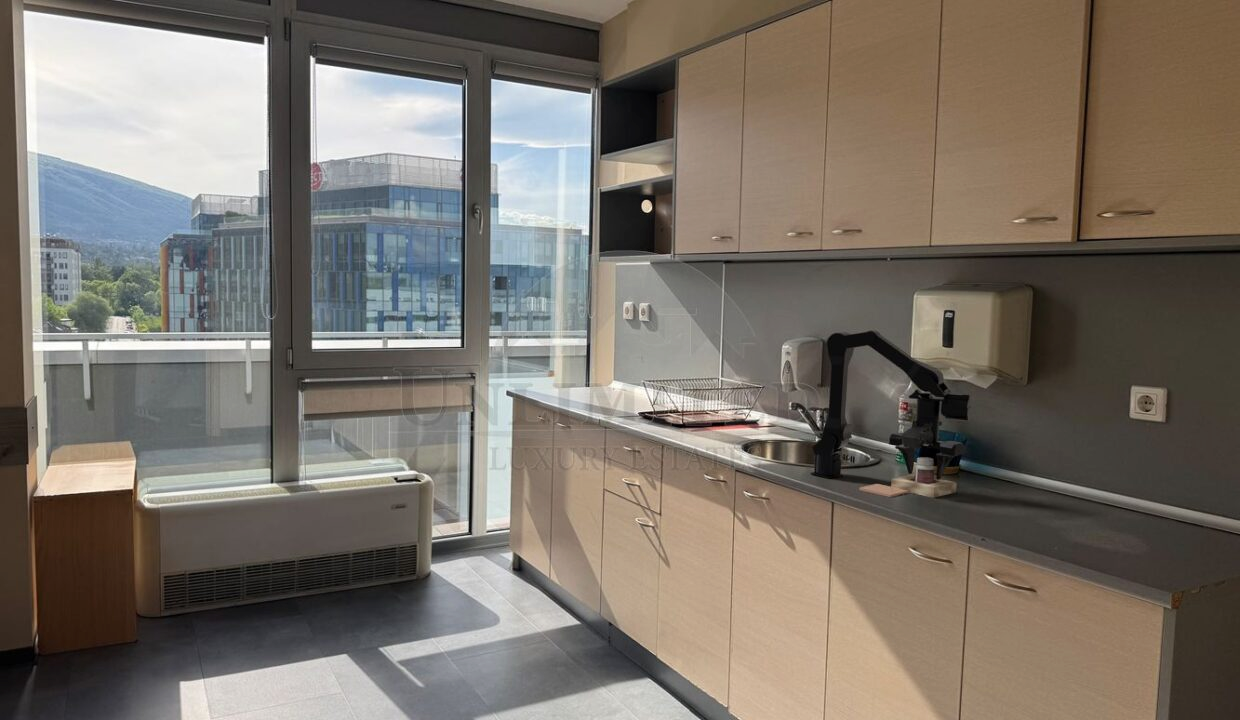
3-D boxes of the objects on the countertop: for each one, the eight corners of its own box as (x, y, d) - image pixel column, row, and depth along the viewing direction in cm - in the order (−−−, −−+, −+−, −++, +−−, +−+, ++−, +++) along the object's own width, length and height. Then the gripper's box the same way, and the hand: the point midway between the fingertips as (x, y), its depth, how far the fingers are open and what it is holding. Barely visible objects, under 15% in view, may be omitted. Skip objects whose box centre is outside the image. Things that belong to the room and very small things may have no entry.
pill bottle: (937, 491, 218) (939, 459, 217) (922, 492, 216) (923, 460, 215) (924, 487, 222) (926, 456, 221) (909, 488, 220) (911, 456, 220)
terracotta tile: (859, 489, 217) (859, 487, 217) (877, 486, 222) (877, 483, 222) (890, 497, 210) (890, 494, 210) (907, 492, 215) (907, 490, 215)
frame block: (891, 488, 220) (891, 478, 220) (914, 483, 227) (914, 473, 227) (933, 497, 211) (933, 487, 211) (956, 492, 218) (956, 482, 218)
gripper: (878, 414, 220) (874, 473, 221) (944, 424, 205) (941, 487, 206) (902, 411, 227) (898, 468, 228) (968, 421, 212) (964, 482, 214)
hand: (924, 476), depth 219 cm, fingers open, 8 cm apart
